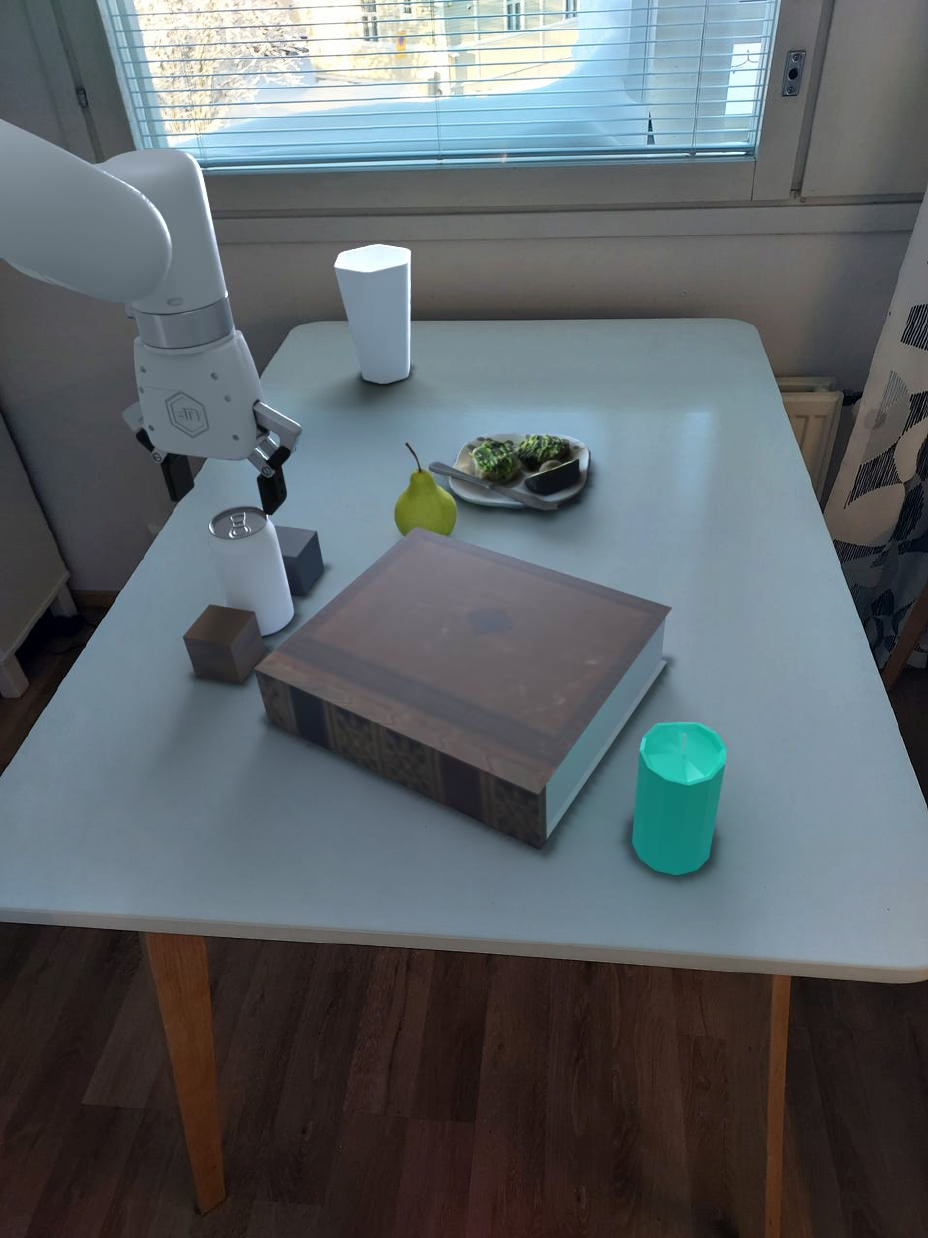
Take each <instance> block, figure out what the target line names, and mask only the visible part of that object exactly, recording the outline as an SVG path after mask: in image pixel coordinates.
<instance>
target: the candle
mask: <svg viewBox="0 0 928 1238" xmlns="http://www.w3.org/2000/svg"><path fill="white" fill-rule="evenodd" d="M727 753H728V748H727V747H726V744H725V743H724V742H723V740H722V738H721V735H720V734H719V732H718V731H715V730H713V728H712V729H711V728H710V727H709V726H706V725H705V724H703V723H701V722H697V721H695V722H693V721H673V722H672V721H671V722H656V723H655V724H654V725H653V726H652V728H650V729H649V730H648V732H646V733H645V734H644V735H643V736H642V739H641V743H640V747H639V752H638V763H637V764H638V766H637V777H636V790H635V800H634V801H635V802H634V812H633V813H634V815H633V824H632V825H633V827H632V839H631V844H632V845H633V848H634V850H635V852H636V854H637V857H638V860H640V861H641V862H643V863H644V864H646V865H647V866H648V867H649V868H651V869H653V870H654V871H655V872H659V873H662V874H663V873H664V874H667V875H668V874H669V875H672V876H680V875H684V874H688V873H692V872H697V871H698V870H699V869H700V868H701V867H702V866H703V865H704V864H705V863H707V861H708V860H709V859H710V855H711V849H712V844H713V838H714V832H715V827H716V821H717V820H716V819H717V814H718V808H719V802H720V797H721V791H722V785H723V779H724V773H725V767H726V759H727Z"/></svg>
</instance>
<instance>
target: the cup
mask: <svg viewBox="0 0 928 1238" xmlns="http://www.w3.org/2000/svg"><path fill="white" fill-rule="evenodd" d="M411 254H412V253H411V250H410V249H408V248H405V247H398V246H392V245H387V244H371V245H367V246H362V247H358V248H355V249H349V250H344V251H342V252H340V253H339V254H338V255H337V258H336V260H335V262H334V264H333V269H334V273H335V276H336V280H337V285H338V287H339V288H338V289H339V292H340V296H341V299H342V304H343V307H344V310H345V315H346V318H347V322H348V326H349V330H350V333H351V337H352V341H353V344H354V348H355V353H356V356H357V360H358V364H359V367H360V372H361V375H362V379H363V380H365V381H367V382H372V383H377V384H381V385H383V384H384V385H385V384H390V383H394V382H398V381H400V380H405V379H406V378H408V377H409V374H410V369H411V259H412V258H411V257H412V256H411Z"/></svg>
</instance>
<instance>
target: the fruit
mask: <svg viewBox="0 0 928 1238" xmlns="http://www.w3.org/2000/svg"><path fill="white" fill-rule="evenodd" d="M404 445H405V447H407V448H408V450H409V451H410V453H411V454H412V456H413V457H414V458H415V461H416V464H417V468H416V469H415V470H414V471H412V473H411V474H410V478H409V484H408V486H407V488H405V490H404V491H403V492H402V493H401V494H400V496H399V497H398V498H397V500H396V502H395V506H394V511H393V513H394V514H393V517H394V522H395V525H396V528H397V529H398V531H399V532H400V534H401V535H402V536H403V537H404V536H406V535H407V534H408V533H409V532H410V531H411V530H412V529H414V528H415V527H418V528H422V529H425V530H428V531H431V532H434V533H437V534H441V535H444V536H447V537H450V535H451V534H452V532H453V530H454V528H455V525H456V522H457V518H458V509H457V503H456V500H455V498H454V497H453V496H452V495H451V494H450V492H448V491H447V490H445V489H444V488H442V487H441V486H439V485H438V484H437V483H436V481H435V477H434V476H433V473H432V472H431V471H430V470H429V469H425V468H422V467H421V464H420V461H419V459H418V458H419V457H418V456H417V454H416V452H415V451H414V449H413V448H412V447H411V445H410V444H409V442H408V441H406V442H405V443H404Z"/></svg>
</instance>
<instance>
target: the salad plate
mask: <svg viewBox="0 0 928 1238" xmlns="http://www.w3.org/2000/svg"><path fill="white" fill-rule="evenodd" d="M591 455H592V453H591V450H590V449H589V447H588V445H587V444H585V443H584V442H583V441H581V440H579V439H577V438H575V437H573V436H570V435H566V434H556V433H553V434H552V433H551V434H549V433H548V434H547V433H546V434H545V433H542V434H541V433H533V434H530V433H516V432H513V433H512V432H492V433H491V432H490V433H486V434H482V435H479V436H476V437H474V438H471V439H470V440H468V441H467V442H466V443H464V445H462V447H461V448H460V450H459V452H458V455H457V457H456V460H455V462H454V464H453V465H452V466H450V465H448V464H445V463H444V462H441V461H433V462H431V463H429V464H428V467H427V468H428V471H429V472H431V473H434V474H435V475H438V476H440V477H442V478H444V479H445V480H446V481H447V482H448V485H449V488H450V490H451V491H452V492H454V494H456V495H457V496H458V497H460V498H461V499H462V500H464V501H466V502H468V503H472V504H476V505H480V506H485V507H494V508H495V507H497V508H507V509H515V510H522V511H529V512H531V511H533V512H534V511H535V512H541V511H542V512H547V511H548V512H549V511H554V510H558V509H563V508H564V507H566V506H568V505H571V504H572V503H573V502H575V501H576V500H577V499H578V498H579V497H580V495H581V493H582V492H583V490H584V488H585V485H586V483H587V482H588V474H589V469H590V466H591V462H592V459H591Z"/></svg>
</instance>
